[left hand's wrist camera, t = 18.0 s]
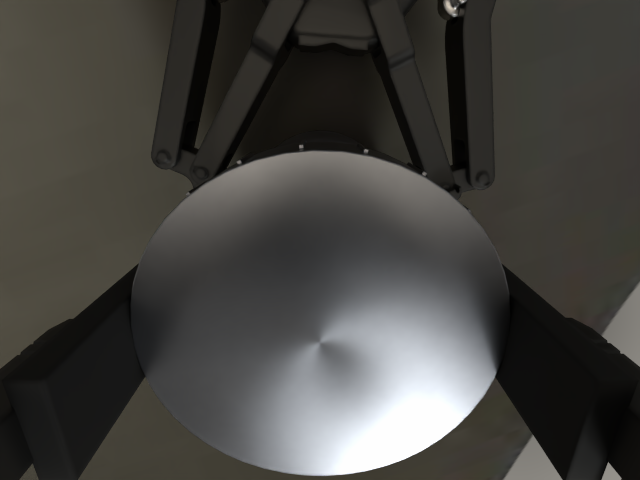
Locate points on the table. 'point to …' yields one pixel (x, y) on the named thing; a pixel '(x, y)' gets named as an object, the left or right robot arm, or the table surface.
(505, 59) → the table surface
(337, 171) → the lid
